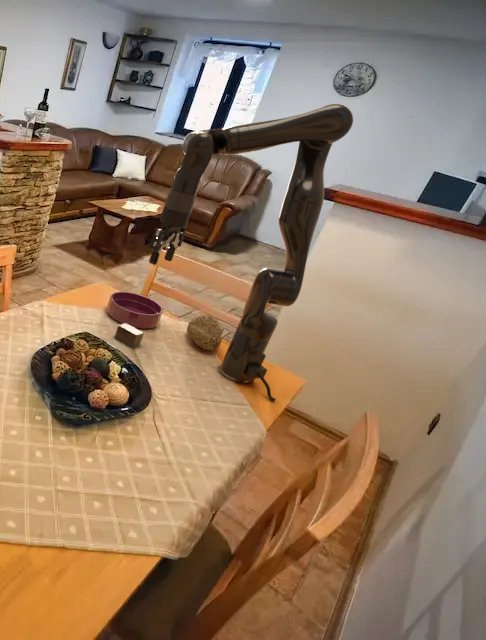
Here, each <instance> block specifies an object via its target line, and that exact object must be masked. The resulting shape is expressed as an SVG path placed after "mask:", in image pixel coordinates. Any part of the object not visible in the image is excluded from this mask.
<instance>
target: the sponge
mask: <svg viewBox="0 0 486 640" xmlns="http://www.w3.org/2000/svg"><path fill="white" fill-rule="evenodd" d="M186 330H187V331H186V332H187V335H188V336H189V337H190V338H191V339H192V341H193V342H194V343H195V344H196V345H197V346H198V347H200V348H201V349H203V350H206V351H214V350H216V349H218V348H219V347H220V345H221V342H222V335H223V332H224V330H225V328H224V326H223V324H222V323H221V322H220V321H219V320H217V319H216V318H214V316H211V315H208V314H205V315H202V316H200V315H199V316H197V317H195V318H193V319H192V320H191V321H190V322H188V325H187V328H186Z"/></svg>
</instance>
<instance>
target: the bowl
mask: <svg viewBox="0 0 486 640" xmlns="http://www.w3.org/2000/svg"><path fill="white" fill-rule="evenodd" d="M163 310H164V308H163V306H162V305H161V304H159V302H158V301H156V300H154V299H152V298H151V297H147V296H145V295H143V294H139V293H135V292H131V291H130V292H129V291H115V292H113V293H111V294H110V296H109V299H108V302H107V307H106V313H107V314H108V315H109V316H110V317H111V318H112V319H113V320H115V321H116V322H117V323H120V324H124V323H127V324H128V325H130V326H132V327H134V328H136V329H152V328H155V327H157V326H158V325H159V323H160V321H161V318H162V315H163V313H164V311H163Z"/></svg>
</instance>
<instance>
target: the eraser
mask: <svg viewBox="0 0 486 640" xmlns="http://www.w3.org/2000/svg"><path fill="white" fill-rule="evenodd" d="M143 336H144V332H143V331H142V330H140V329H139V328H135V327H132V326H130V325H128V324H127V323H124V324H122V323H120V324H119V325H118V326H117V328H116V331H115V335H114V339H116V341H117V340H118V341H119V342H121V343H122V344H124V345H126V346H127V347H130V348H131V349H135V348H137V347H139V346H141V343H142V340H143Z"/></svg>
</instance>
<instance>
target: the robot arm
mask: <svg viewBox="0 0 486 640" xmlns="http://www.w3.org/2000/svg"><path fill="white" fill-rule="evenodd" d="M353 124H354V115H353V112H352V111H351V110H350V108H349V107H347V106H345V105H344V104H340V103H332V104H331V103H330V104H327V105H324V106H322V107H319V108H317V109H313V110H311V111H307V112H304V113H300V114H297V115H296V114H295V115H292V116H288V117H283V118H278V119H270V120H264V121H258V122H251V123H245V124H239V125H233V126H228V127H224V128H223V127H222V128H212V129H200V130H195V131H193V132H190V133H188V134H187V135H186V136H185V137H184V139H183V141H182V145H181V146H182V147H181V148H182V152H183V153H184V156H183V159H182V161H181V165H180V167H179V168H178V169H177V170H176V172H175V174H174V176H173V180H172V183H171V186H170V189H169V192H168V193H167V196H166V199H165V202H164V205H163V208H162V212H161V215H160V219H159V221H160V222H161V223H162V227H161V228H158V227H155V229H154V230H153V234H152V236H151V239H150V242H149V245H148V249H150V250H151V254H150V258H149V260H148V262H149V264H150V265H157V264H158V261H159V258H160V255H161V253H162V250H163V249H164V248H166V247H167V246H168V247H167V249H166V252H165V255H164V260H165V261H168V262H172V261H173V258H174V255H175V253H176V250H178V248H181V246H182V244H183V241H184V238H185V235H186V231H187V226H188V223H189V220H190V217H191V214H192V211H193V208H194V205H195V201H196V198H197V197H196V196H197V193H198V190H199V187H200V184H201V182H202V178H203V176H204V174H205V172H206V171H207V169H208V166H209V164H210V163H211V160H212V158H213V156H217V155H225V156H234V155H240V154H247V153H253V152H257V151H262V150H266V149H270V148H273V147H277V146H281V145H286V144H291V143H297V142H298V147H297V153H296V159H295V162H294V167H293V168H292V169H293V170H292V172H291V176H290V179H289V182H288V185H287V189H286V192H285V196H284V198H283V202H282V205H281V208H280V211H279V216H278V226H279V230H280V233H281V237H282V240H283V243H284V246H285V251H286V260H285V266H284V270H278V269H272V268H262V269H261V270H260V271H259V272H258V273H257V274H256V276H255V278H254V280H253V283H252V284H251V288H250V290H249V294H248V296H247V299H246V301H245V304H244V306H243V307H244V308H243V312H242V316H241V317H240V320H239V322H238V325H237V327H236V329H235V332H234V333H233V336H232V338H231V341H230V343H229V346H228V348H227V350H226V353H225V354H224V358H223V360H222V361H221V364H220V366H219V368H218V371H219V372H220V374H222V375H223V376H224V377H225V378H227V379H229V380H231V381H233V382H235V383H236V384H253V383H254V382H255V380H256V379H260V380H261V382H262V384H263V385H264V386H265V388H266V394H267V397H268V399H269V400H270V401H272V402H275V401H276V398H274V397H273V396H272V393H271V388H270V385H269V383H268V382H267V381H266V379H265V376H266V374H267V372H268V369H267V368H266V367H265V366H264V365H263V364H264V361H265V359H266V356H267V355H266V354H265V352H266V350H267V347H268V345H269V343H270V340H271V339H272V337H273V335H274V333H275V330H276V328H277V326H278V319H277V318H276V317H275V315H273V314H272V313H270V312H268V311H267V310H266V308H267V307H266V306H267V304H270V305H274V306H280V307H291V306H293V304H295V303H296V301H297V300H298V298H299V296H300V294H301V290H302V286H303V281H304V277H305V272H306V271H305V270H306V265H307V261H308V256H309V251H310V248H311V244H312V241H313V237H314V235H315V234H314V233H315V230H316V227H317V224H318V221H319V219H320V215H321V211H322V208H323V205H324V200H325V180H324V179H325V178H324V175H325V173H324V172H325V166H326V162H327V159H328V156H329V153H330V151H331V148H332V146H333V144H334V143H336V142H338V141H340V140H341V139H343V138H344V137H345V136H346V135H347V134H348V133H349V132H350V131H351V129H352V127H353Z"/></svg>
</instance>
